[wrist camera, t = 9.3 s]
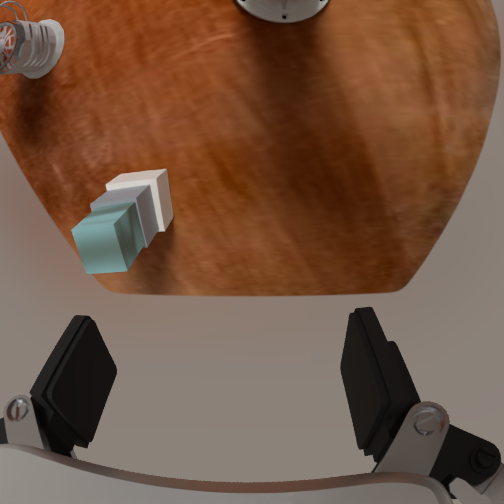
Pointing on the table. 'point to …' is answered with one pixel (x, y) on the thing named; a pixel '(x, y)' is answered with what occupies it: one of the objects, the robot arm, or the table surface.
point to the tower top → (143, 204)
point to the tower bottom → (158, 189)
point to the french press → (30, 45)
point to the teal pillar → (109, 238)
